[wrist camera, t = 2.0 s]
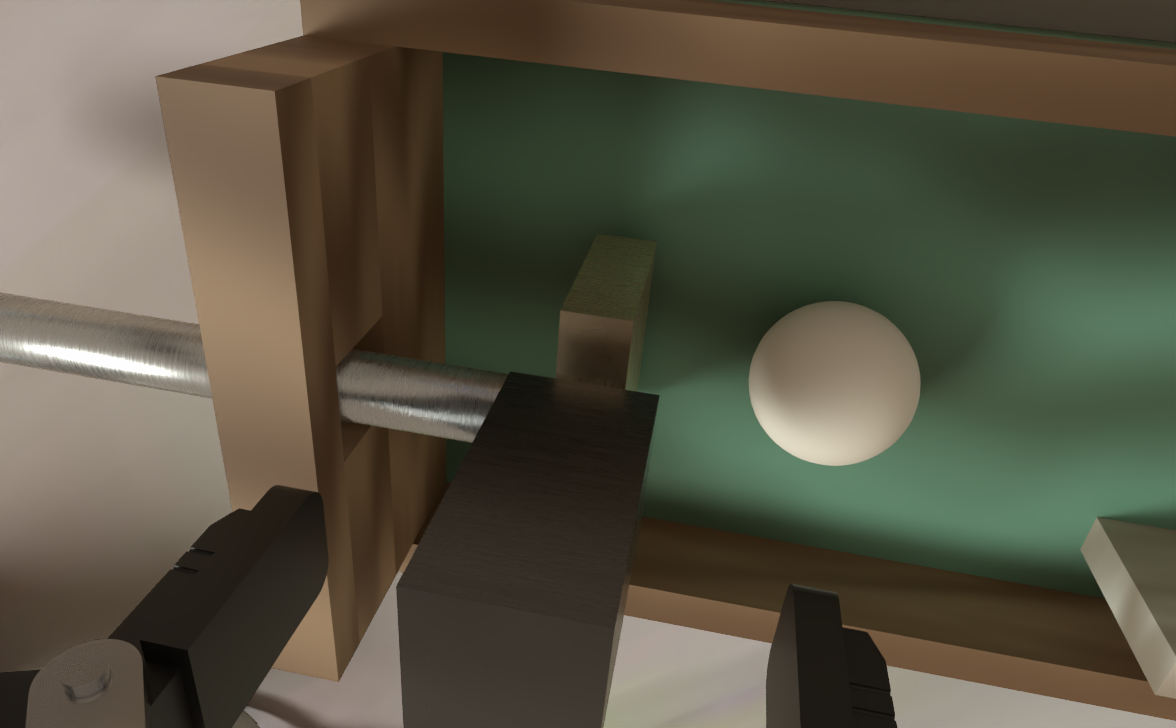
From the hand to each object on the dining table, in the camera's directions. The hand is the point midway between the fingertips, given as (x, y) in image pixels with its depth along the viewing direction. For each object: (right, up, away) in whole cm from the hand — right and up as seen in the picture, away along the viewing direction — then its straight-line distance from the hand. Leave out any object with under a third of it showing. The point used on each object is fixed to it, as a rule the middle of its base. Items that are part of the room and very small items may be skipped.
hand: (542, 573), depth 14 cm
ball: (+7, +3, +6) cm, 10 cm away
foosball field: (+9, +5, +9) cm, 13 cm away
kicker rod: (-8, +6, +9) cm, 14 cm away
